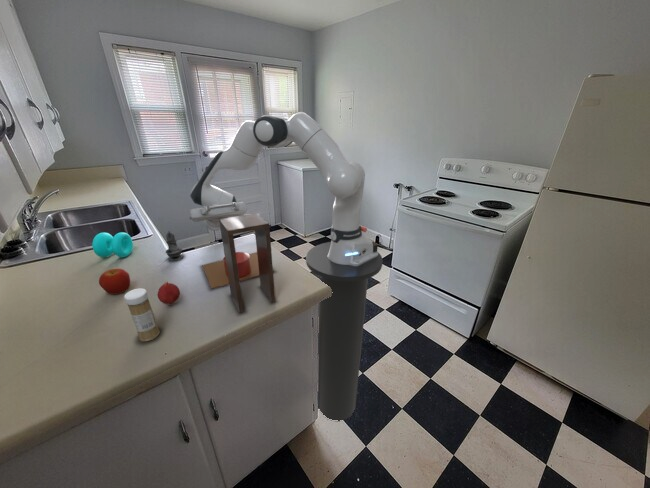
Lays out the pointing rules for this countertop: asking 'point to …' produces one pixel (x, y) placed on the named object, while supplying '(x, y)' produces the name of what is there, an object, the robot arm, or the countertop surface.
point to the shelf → (263, 253)
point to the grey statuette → (173, 248)
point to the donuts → (112, 244)
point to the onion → (168, 293)
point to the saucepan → (241, 264)
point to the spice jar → (142, 314)
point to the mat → (219, 278)
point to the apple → (115, 281)
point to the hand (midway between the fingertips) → (221, 206)
